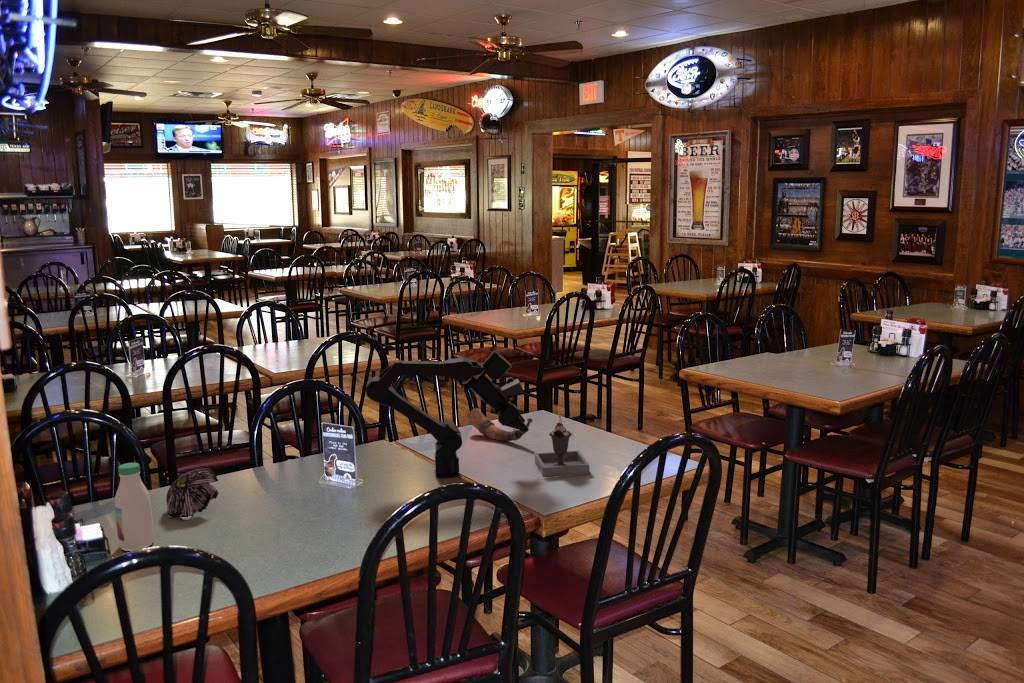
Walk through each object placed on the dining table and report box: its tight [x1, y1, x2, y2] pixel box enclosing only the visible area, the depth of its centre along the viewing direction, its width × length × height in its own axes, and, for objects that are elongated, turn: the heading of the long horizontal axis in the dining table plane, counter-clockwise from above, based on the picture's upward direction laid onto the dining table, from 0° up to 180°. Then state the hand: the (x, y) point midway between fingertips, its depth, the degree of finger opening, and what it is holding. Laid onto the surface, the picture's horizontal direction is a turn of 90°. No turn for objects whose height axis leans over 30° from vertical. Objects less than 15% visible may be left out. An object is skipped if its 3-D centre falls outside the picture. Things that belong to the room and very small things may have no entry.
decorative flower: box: [165, 467, 219, 518], centre depth 218 cm, size 15×12×15 cm
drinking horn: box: [465, 407, 534, 442], centre depth 274 cm, size 5×29×10 cm, turn 46°
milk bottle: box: [114, 462, 155, 550], centre depth 195 cm, size 8×8×20 cm
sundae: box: [548, 415, 573, 466], centre depth 244 cm, size 7×7×15 cm
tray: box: [534, 450, 590, 478], centre depth 246 cm, size 14×14×3 cm
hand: (525, 426), depth 243 cm, fingers open, 9 cm apart
